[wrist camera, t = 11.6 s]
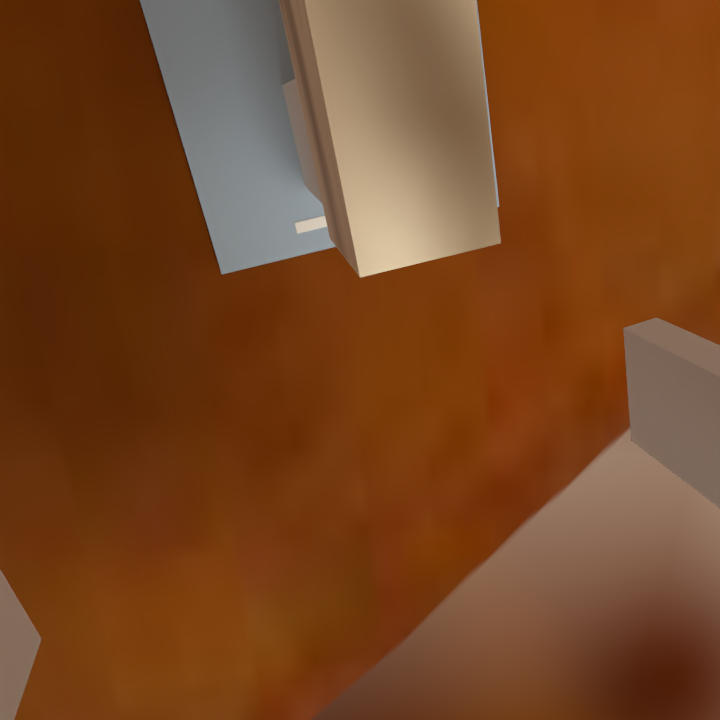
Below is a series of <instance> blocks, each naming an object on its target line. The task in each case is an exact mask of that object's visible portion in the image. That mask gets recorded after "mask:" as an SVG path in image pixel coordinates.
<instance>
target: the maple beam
mask: <svg viewBox="0 0 720 720" xmlns="http://www.w3.org/2000/svg"><path fill="white" fill-rule="evenodd" d="M279 4H280V9H281V13H282V18H283V23H284V27H285V32H286V37H287V41H288V46H289V51H290V55H291V60H292V65H293V69H294V74H295V78H296V83H297V88H298V92H299V97H300V102H301V106H302V111H303V116H304V120H305V125H306V130H307V134H308V139H309V144H310V148H311V153H312V158H313V162H314V167H315V172H316V176H317V181H318V186H319V190H320V195H321V199H322V204H323V209H324V213H325V218H326V223H327V227H328V232H329V237H330V239H331V241H332V242H333V243H334V245H335V246H336V247H337V248H338V250H339V251H340V252H341V254H342V255H343V256H344V257H345V259H346V260H347V261H348V263H349V264H350V265H351V267H352V268H353V269H354V270H355V272H356V273H357V274H358V276H359V277H364V276H368V275H373V274H377V273H381V272H385V271H389V270H393V269H397V268H401V267H405V266H409V265H414V264H418V263H422V262H426V261H430V260H434V259H438V258H442V257H446V256H450V255H455V254H459V253H463V252H467V251H471V250H475V249H479V248H483V247H487V246H491V245H496V244H500V243H501V239H500V229H499V220H498V210H497V200H496V191H495V181H494V172H493V162H492V152H491V143H490V133H489V123H488V114H487V104H486V95H485V85H484V75H483V66H482V56H481V47H480V37H479V27H478V18H477V8H476V0H279Z"/></svg>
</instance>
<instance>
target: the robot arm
mask: <svg viewBox="0 0 720 720" xmlns="http://www.w3.org/2000/svg"><path fill="white" fill-rule="evenodd" d="M623 329H624V343H625V357H626V372H627V386H628V400H629V414H630V429H631V440H632V441H633V442H634V443H635V444H637V445H638V446H639V447H641V448H642V449H643V450H644V451H646V452H647V453H648V454H650V455H651V456H652V457H654V458H655V459H656V460H658V461H659V462H660V463H661V464H663V465H664V466H665V467H667V468H668V469H669V470H671V471H672V472H673V473H675V474H676V475H677V476H678V477H680V478H681V479H682V480H684V481H685V482H686V483H688V484H689V485H690V486H691V487H693V488H694V489H696V490H697V491H698V492H699V493H701V494H702V495H703V496H704V497H706V498H707V499H709V500H710V501H711V502H713V503H714V504H715V505H716V506H718V507H719V508H720V345H718V344H715V343H713V342H711V341H709V340H706V339H704V338H702V337H700V336H697V335H695V334H693V333H690V332H688V331H686V330H684V329H681V328H679V327H677V326H675V325H672V324H670V323H668V322H666V321H663V320H661V319H659V318H654V319H651V320H648V321H644V322H641V323H638V324H635V325H632V326H629V327H625V328H623ZM40 642H41V637H40V636H39V634H38V632H37V630H36V629H35V627H34V625H33V624H32V622H31V620H30V619H29V617H28V615H27V614H26V612H25V610H24V609H23V607H22V605H21V604H20V602H19V600H18V599H17V597H16V595H15V593H14V592H13V590H12V588H11V587H10V585H9V583H8V582H7V580H6V578H5V577H4V575H3V573H2V572H1V570H0V720H14V718H15V715H16V712H17V709H18V707H19V704H20V701H21V698H22V695H23V692H24V689H25V686H26V683H27V680H28V677H29V674H30V671H31V668H32V665H33V662H34V659H35V657H36V654H37V651H38V648H39V645H40Z"/></svg>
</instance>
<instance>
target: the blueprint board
mask: <svg viewBox="0 0 720 720" xmlns="http://www.w3.org/2000/svg"><path fill="white" fill-rule="evenodd" d="M140 3H141V6H142V9H143V13H144V16H145V19H146V23H147V26H148V29H149V33H150V36H151V39H152V43H153V46H154V49H155V53H156V56H157V59H158V63H159V66H160V69H161V73H162V76H163V80H164V83H165V86H166V90H167V93H168V96H169V100H170V103H171V106H172V110H173V113H174V116H175V120H176V123H177V126H178V130H179V133H180V136H181V140H182V143H183V146H184V150H185V153H186V156H187V160H188V163H189V166H190V170H191V173H192V176H193V180H194V183H195V186H196V190H197V193H198V197H199V200H200V203H201V207H202V210H203V213H204V217H205V220H206V223H207V227H208V230H209V233H210V237H211V240H212V243H213V247H214V250H215V253H216V257H217V260H218V263H219V267H220V270H221V273H222V274H226V273H230V272H234V271H238V270H242V269H246V268H250V267H255V266H259V265H263V264H267V263H271V262H275V261H279V260H283V259H287V258H291V257H295V256H299V255H304V254H308V253H312V252H316V251H320V250H324V249H328V248H332V247H336V246H335V245H334V243H333V242H332V241H331V239H330V237H329V232H328V227H327V223H326V218H325V213H324V209H323V204H322V199H321V195H320V190H319V186H318V181H317V176H316V172H315V167H314V162H313V158H312V153H311V148H310V144H309V139H308V134H307V130H306V125H305V120H304V116H303V111H302V106H301V102H300V97H299V92H298V88H297V83H296V78H295V74H294V69H293V65H292V60H291V55H290V51H289V46H288V41H287V37H286V32H285V27H284V23H283V18H282V13H281V9H280V4H279V0H140ZM476 8H477V18H478V27H479V37H480V47H481V56H482V66H483V75H484V85H485V95H486V104H487V114H488V123H489V133H490V143H491V152H492V162H493V172H494V181H495V191H496V200H497V207H499V200H498V191H497V181H496V172H495V163H494V154H493V145H492V136H491V126H490V117H489V108H488V99H487V90H486V81H485V71H484V62H483V53H482V44H481V35H480V26H479V16H478V7H477V0H476Z"/></svg>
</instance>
